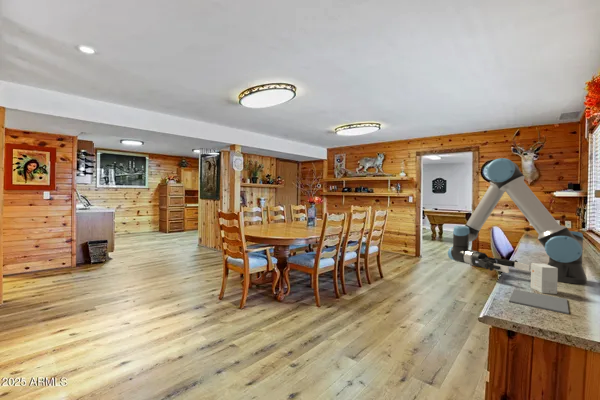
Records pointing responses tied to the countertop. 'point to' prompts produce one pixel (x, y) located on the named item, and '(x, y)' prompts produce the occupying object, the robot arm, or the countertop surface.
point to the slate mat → (540, 301)
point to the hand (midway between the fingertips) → (519, 269)
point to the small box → (544, 278)
